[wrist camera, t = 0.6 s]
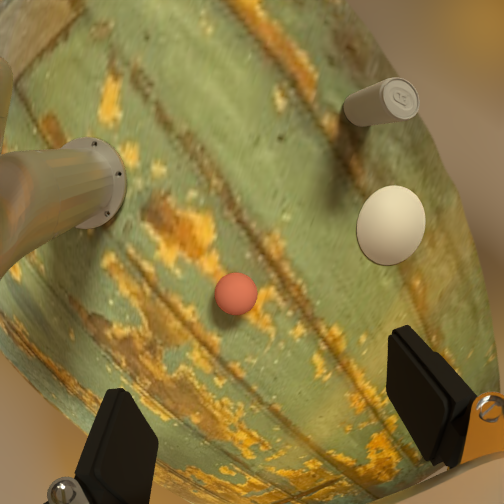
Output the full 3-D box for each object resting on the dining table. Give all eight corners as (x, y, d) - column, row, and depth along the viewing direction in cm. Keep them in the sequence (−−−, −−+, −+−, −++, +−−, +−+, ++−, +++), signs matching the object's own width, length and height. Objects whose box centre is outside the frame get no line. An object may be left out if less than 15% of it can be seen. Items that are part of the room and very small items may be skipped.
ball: (219, 306, 45) (218, 325, 40) (212, 270, 43) (209, 286, 38) (258, 299, 45) (262, 319, 40) (252, 263, 43) (255, 279, 38)
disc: (358, 270, 45) (358, 271, 45) (353, 189, 41) (354, 189, 41) (423, 257, 45) (424, 257, 45) (423, 182, 42) (424, 182, 41)
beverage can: (368, 132, 39) (414, 128, 28) (337, 118, 38) (376, 108, 27) (377, 102, 38) (424, 89, 26) (347, 87, 37) (387, 68, 25)
